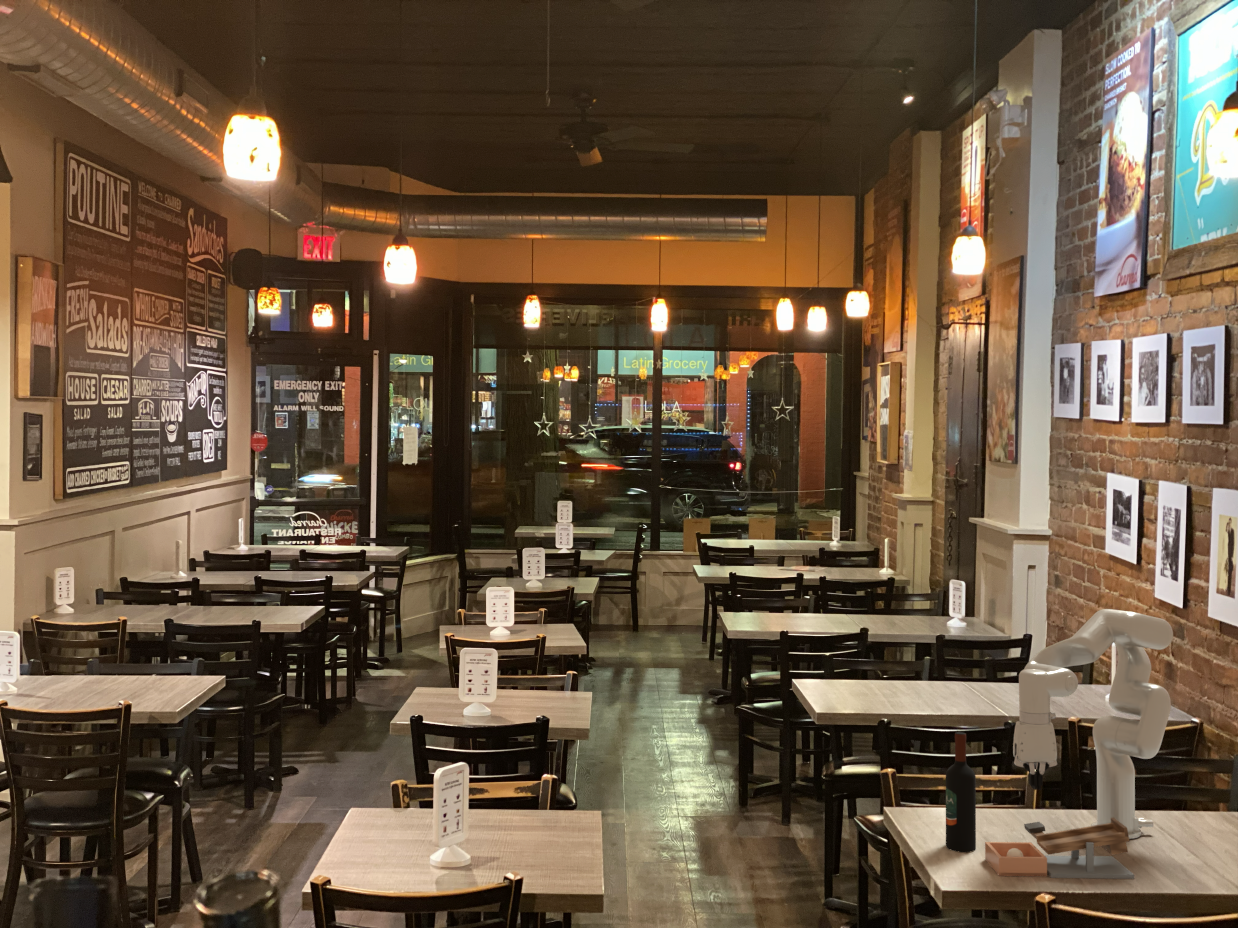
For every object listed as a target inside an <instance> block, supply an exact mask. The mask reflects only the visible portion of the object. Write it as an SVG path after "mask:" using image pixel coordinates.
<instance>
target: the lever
mask: <svg viewBox="0 0 1238 928" xmlns="http://www.w3.org/2000/svg"><path fill="white" fill-rule="evenodd" d="M1023 826H1024V829H1025V831H1027V832H1028V833H1029V834H1030V835H1031V836H1032V837H1033V838H1034V839H1035V840H1036V844H1037V846H1039V847H1040V848H1041V850H1043V851H1044V852H1045V853H1046V854H1047V855H1054V854H1062V853H1066V852H1071V851H1073V850H1079V851H1080V850H1084V849H1085V850H1086V842H1093V843H1094V848H1095V847H1096V848H1097V847H1102V849H1104V850H1105V851H1107V853H1108V854H1110V856H1113V855H1114V856H1115V855H1119V854H1120V855H1121V854H1126V853H1128V852H1129V851H1128V846H1127V845H1128V844H1127V842H1130V839H1129V836H1128V830H1127V827H1126V826H1124V825H1123V824H1122V823H1120V822H1119V821H1118V820H1116V819H1115V818H1111V823H1107V824H1101V825H1095V826H1091V825H1088V826H1083V827H1077V828H1072V829H1066V830H1060V831H1053V832H1048V833H1045V832H1046V827H1045V825H1044V824H1042V822H1041V821H1034V822H1029V823H1028V822H1027V823H1024V824H1023Z"/></svg>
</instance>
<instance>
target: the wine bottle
mask: <svg viewBox="0 0 1238 928" xmlns="http://www.w3.org/2000/svg"><path fill="white" fill-rule="evenodd" d="M954 754H955V755H954V764H952V765H950V766H949V767H948V769H946V772H945V847H946V849H948V850H950V851H953V852H958V851H959V853H971V852H970V851H972V852H974V851H976V849H977V843H976V842H977V841H976V840H977V839H976V838H977V837H976V835H977V831H976V830H977V824H976V823H977V821H976V820H977V818H976V817H977V816H976V815H977V811H976V810H977V805H976V803H977V802H976V801H977V800H976V799H977V798H976V797H977V796H976V795H977V793H976V791H977V790H976V789H977V788H976V787H977V785H976V784H977V783H976V778H977V777H976V773H975V772H974V770H973V769H972V768H971V767H970V766H969V765H968V764H967V733H966V732H961V731H956V732H955V733H954ZM973 850H974V851H973Z"/></svg>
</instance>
